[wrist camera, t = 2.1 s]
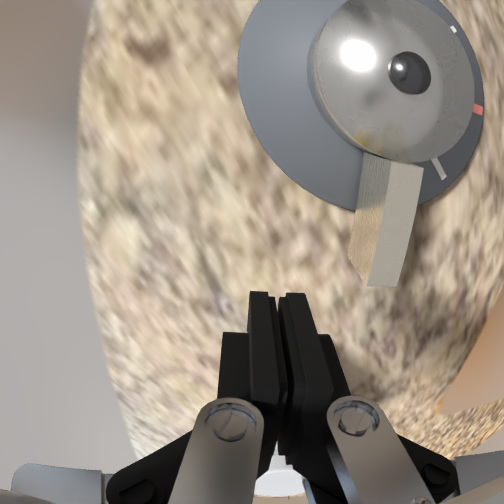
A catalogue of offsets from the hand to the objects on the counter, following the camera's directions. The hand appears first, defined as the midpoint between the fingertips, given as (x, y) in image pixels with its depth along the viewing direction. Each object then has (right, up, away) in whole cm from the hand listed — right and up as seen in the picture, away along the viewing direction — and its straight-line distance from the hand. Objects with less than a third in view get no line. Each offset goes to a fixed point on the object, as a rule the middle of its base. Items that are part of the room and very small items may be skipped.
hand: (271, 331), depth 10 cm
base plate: (+7, +14, +8) cm, 18 cm away
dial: (+7, +10, +7) cm, 14 cm away
